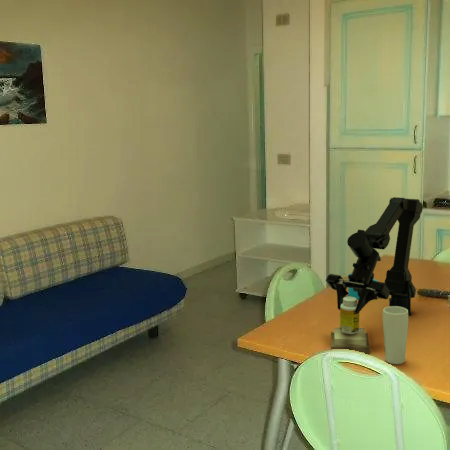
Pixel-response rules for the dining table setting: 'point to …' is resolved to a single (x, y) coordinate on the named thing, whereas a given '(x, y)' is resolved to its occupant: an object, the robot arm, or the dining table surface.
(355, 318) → the supplement bottle
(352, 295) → the mug
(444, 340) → the dining table surface
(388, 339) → the drinking glass
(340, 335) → the stand
